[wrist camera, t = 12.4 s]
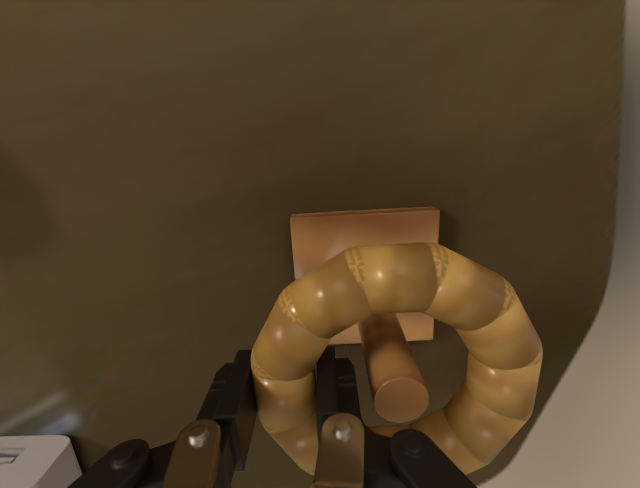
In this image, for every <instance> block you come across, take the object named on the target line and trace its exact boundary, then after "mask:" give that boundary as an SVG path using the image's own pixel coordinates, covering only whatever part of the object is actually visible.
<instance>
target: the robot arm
mask: <svg viewBox="0 0 640 488" xmlns="http://www.w3.org/2000/svg"><path fill="white" fill-rule="evenodd" d="M251 353H252V350H239V351H238V352H237V355H236V358H235V360H234V363H226V364H225V365H224V366H223V367H222V368H221V369H220V370H219V371H218V372H217V373H216V375H215V378H214V380H213V384H211V387H210V389H209V392H208V394H207V396H206V398H205V400H204V403H203V405H202V407H201V410H200V412H199V414H198V416H197V419H196V421H194V422H192V423H190V424H189V425H187V426H186V427H185V428H184V429H183V430H182V431H181V432H180V433H179V435H178V437H177V439H176V440H175V441H173V442H171V443H168V444H165V445H162V446H159V447H155V448H152V449H150V448H149V445H148V443H147V442H146V441H145V440H142V439H132V440H128V441H125V442H123V443H121V444H119V445H117V446H116V447H114V448H113V449H112V450H110V451H109V452H108V453H107V454H106V455H105V456H103V457H102V458H101V459H100V460H99V461H97V462H96V463H95V464H94V465H93V466H92V467H90V468H89V469H88V470H87V471H86V472H85V473H83V474H82V475H81V476H80V477H79V478H77V479H76V480H75V481H74V482H73V483H72V484H70V485H69V486H68V487H67V488H232V487H231V481H232V477H233V474H234V471H244V467H245V463H246V459H247V454H248V450H249V446H250V441H251V437H252V433H253V428H254V424H255V419H256V415H257V411H258V410H257V403H256V397H255V390H254V383H253V377H252V370H251V361H250V360H251ZM316 423H317V436H318V455H317V461H316V467H315V473H314V479H313V484H312V485H310V486H309V488H477V487H476V486H475V485H474V484H473V483H472V482H471V481H470V480H469V479H468V478H467V476H466V475H465V474H464V473H463V472H462V471H461V470H460V469H459V468H458V467H457V466H456V465H455V464H454V463H453V462H452V461H451V460H450V459H449V457H448V456H447V455H446V454H445V453H444V452H443V451H442V450H441V449H440V448H439V447H438V446H437V445H436V444H435V443H434V442H433V441H432V440H431V438H429V437H428V436H427V435H426V434H424V433H423V432H421V431H418V430H415V429H402V430H399V431H397V432H396V433H395V434H393V436H392V437H388V436H384V435H380V434H377V433H375V432H373V431H372V430H370V429H369V428H368V427H367V426H366V425H365V424H364V422H363V421H362V418H361V413H360V406H359V399H358V392H357V386H356V378H355V370H354V366H353V364H352V363H351V362H350V360H349V359H348V358H336V359H335V349H334V346H327V347H326V348H325V350H324V352H323V353H322V355H321V357H320V358H319V360H318V362H317V381H316Z"/></svg>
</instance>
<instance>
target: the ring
mask: <svg viewBox="0 0 640 488" xmlns="http://www.w3.org/2000/svg"><path fill="white" fill-rule="evenodd" d="M407 312H422V313H424V314H427V315H429V316H431V317H433V318H435V319H437V320H439V321H442V322H444V323H446V324H448V325H450V326H452V327H455V329H456V331H457V332H458V334H459V335H460V337H461V339H462V340H463V342H464V344H465V345H466V347H467V348H468V350H469V354H468V365H467V376H466V380H465V381H464V382H463V384H462V385H461V386H460V388H459V389H458V390H457V392H456V393H455V394H454V395H453V397H452V398H451V399H450V401H449V402H448V403H447V405H446V406H445V407H444V408H442V409H440V410H438V411H436V412H434V413H432V414H429V415H427V416H425V417H423V418H421V419H419V420H417V421H415V422H413V423H411V424H409V425H395V426H375V427H368V428H369V429H370V430H372V431H373V432H375V433H377V434H380V435H384V436H388V437H392V436H393V434H395V433H396V432H397V431H399V430H402V429H415V430H418V431H421V432H423V433H424V434H426V435H427V436H428V437H429V438H431V440H432V441H433V442H434V443H435V444H436V445H437V446H438V447H439V448H440V449H441V450H442V451H443V452H444V453H445V454H446V455H447V456H448V457H449V459H450V460H451V461H452V462H453V463H454V464H455V465H456V466H457V467H458V468H459V469H460V470H461V471H462V472H463V473H464V474H465V475H466V474H469V473H471V472H473V471H475V470H477V469H480V468H482V467H484V466H486V465H488V464H489V463H490V462H491V461H492V460H493V459H494V458H495V457H496V456H497V455H498V453H499V452H500V451H501V450H502V449H503V448H504V447H505V445H506V444H507V443H508V442H509V441H510V440H511V439H512V438H513V436H514V435H515V434H516V433H517V432H518V431H519V430H520V428H521V427H522V426H523V425H524V424H525V423H526V422H527V420H528V419H529V418H530V416H531V414H532V411H533V408H534V403H535V397H536V391H537V386H538V380H539V374H540V368H541V363H542V356H543V349H542V344H541V341H540V338H539V336H538V334H537V332H536V331H535V329H534V327H533V325H532V323H531V321H530V319H529V317H528V315H527V314H526V312H525V310H524V308H523V306H522V304H521V302H520V300H519V298H518V297H517V295H516V293H515V291H514V289H513V288H512V286H511V285H510V283H509V282H508V281H507V280H506V279H505V278H504V277H502V276H501V275H499V274H497V273H496V272H494V271H492V270H490V269H488V268H486V267H484V266H482V265H480V264H478V263H476V262H474V261H472V260H470V259H468V258H466V257H464V256H462V255H460V254H458V253H456V252H454V251H452V250H450V249H448V248H446V247H444V246H441V245H439V244H436V243H430V242H418V243H401V244H384V245H366V246H355V247H351V248H348V249H346V250H344V251H342V252H341V253H339V254H338V255H336V256H334V257H333V258H331V259H329V260H328V261H326V262H325V263H323V264H321V265H320V266H318V267H317V268H315V269H313V270H312V271H310V272H308V273H307V274H305V275H304V276H302V277H300V278H299V279H297V280H295V281H294V282H292V283H291V284H289V285H288V286H287V287H286V288H285V289H284V290H283V291H282V292H281V294H280V295H279V297H278V299H277V301H276V303H275V305H274V307H273V309H272V311H271V313H270V315H269V317H268V319H267V321H266V323H265V324H264V326H263V328H262V330H261V332H260V334H259V336H258V338H257V340H256V342H255V344H254V346H253V349H252V353H251V360H250V361H251V370H252V377H253V383H254V390H255V397H256V403H257V410H258V416H259V419H260V422H261V424H262V426H263V427H264V429H265V430H266V431H267V432H268V433H269V435H270V436H271V437H272V438H273V439H274V440H275V441H276V442H277V443H278V444H279V445H280V447H281V448H282V449H283V450H284V451H285V452H286V453H287V454H288V455H289V456H290V457H291V458H292V460H293V461H294V462H295V463H296V464H297V465H298V466H299V467H300V468H301V469H302V470H303V471H305V472H307V473H309V474H311V475H313V476H314V473H315V467H316V461H317V455H318V436H317V423H316V376H315V365H316V363H317V362H318V360H319V358H320V357H321V355H322V353H323V352H324V350H325V348H326V347H327V345H328V343H329V341H330V340H331V338H332V337H333V336H335V335H337V334H339V333H340V332H342V331H344V330H346V329H347V328H349V327H351V326H353V325H354V324H356V323H358V322H360V321H362V320H363V319H365V318H367V317H369V316H370V315H372V314H389V313H407Z"/></svg>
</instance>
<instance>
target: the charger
mask: <svg viewBox="0 0 640 488" xmlns="http://www.w3.org/2000/svg"><path fill="white" fill-rule="evenodd" d="M81 475H82V472H81V469H80V466H79V463H78V460H77V458H76V455H75V452H74V449H73V447H72V444H71V441H70V438H68V437H67V436H64V435H34V436H2V437H0V488H67V487H68V486H69V485H70V484H72V483H73V482H74V481H75V480H76V479H77V478H79V477H80V476H81Z"/></svg>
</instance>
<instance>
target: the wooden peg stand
mask: <svg viewBox="0 0 640 488" xmlns="http://www.w3.org/2000/svg"><path fill="white" fill-rule="evenodd" d="M439 218H440V210H439V209H437V208H436V207H434V206H427V207H409V208H391V209H373V210H355V211H337V212H319V213H300V214H291V217H290V227H291V238H292V250H293V261H294V273H295V280H297V279H299V278H300V277H302V276H304V275H305V274H307V273H308V272H310V271H312V270H313V269H315V268H317V267H318V266H320V265H321V264H323V263H325V262H326V261H328V260H329V259H331V258H333V257H334V256H336V255H338V254H339V253H341V252H342V251H344V250H346V249H348V248H351V247H355V246H366V245H384V244H401V243H418V242H430V243H436V244H438V236H439ZM433 327H434V318H433V317H431V316H429V315H427V314H424V313H422V312H407V313H389V314H372V315H370V316H369V317H367V318H365V319H363V320H362V321H360V322H358V323H356V324H354V325H353V326H351V327H349V328H347V329H346V330H344V331H342V332H340V333H339V334H337V335H335V336H333V337H332V338H331V340H330V341H329V343H328V345H330V344H352V343H361V344H362V349H363V354H364V359H365V365H366V370H367V375H368V380H369V385H370V390H371V396H372V401H373V405H374V408H375V410H376V412H377V413H378V414H379V415H380V416H381V417H382V418H384V419H385V420H387V421H390V422H395V423H404V422H409V421H412V420H414V419H416V418H418V417H419V416H420V415H422V414H423V413H424V411H425V410H426V408H427V406H428V403H429V393H428V390H427V388H426V385H425V383H424V380H423V378H422V376H421V373H420V371H419V368H418V366H417V364H416V361H415V359H414V357H413V354H412V352H411V349H410V347H409V345H408V342H407V341H416V340H433Z"/></svg>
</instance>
